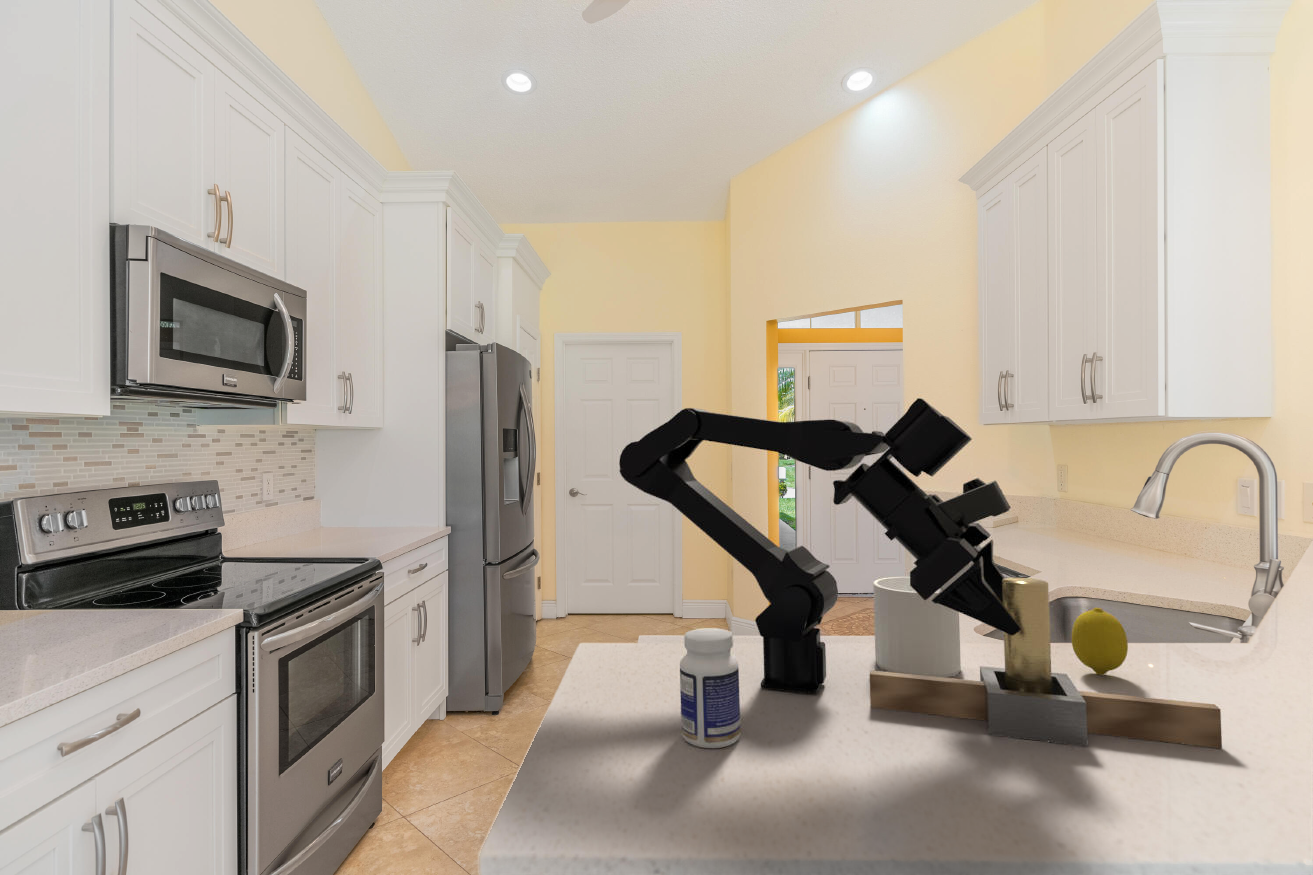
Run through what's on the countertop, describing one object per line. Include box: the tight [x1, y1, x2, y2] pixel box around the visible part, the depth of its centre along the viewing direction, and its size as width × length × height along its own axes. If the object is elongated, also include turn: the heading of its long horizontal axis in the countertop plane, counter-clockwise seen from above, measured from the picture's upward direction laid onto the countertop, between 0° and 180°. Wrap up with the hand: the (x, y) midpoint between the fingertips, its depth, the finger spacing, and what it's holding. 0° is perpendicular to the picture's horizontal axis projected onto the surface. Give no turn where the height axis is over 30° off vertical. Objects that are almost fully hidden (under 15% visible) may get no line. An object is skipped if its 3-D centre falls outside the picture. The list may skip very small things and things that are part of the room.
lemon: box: [1071, 607, 1129, 676], centre depth 77 cm, size 6×6×8 cm
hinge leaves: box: [869, 670, 1223, 749], centre depth 64 cm, size 30×1×4 cm, turn 68°
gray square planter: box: [979, 665, 1089, 748], centre depth 64 cm, size 8×8×4 cm
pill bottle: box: [679, 627, 741, 749], centre depth 63 cm, size 6×6×10 cm
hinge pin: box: [1002, 577, 1052, 695], centre depth 64 cm, size 4×4×14 cm
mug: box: [872, 576, 962, 678], centre depth 83 cm, size 13×10×10 cm
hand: (1019, 620), depth 65 cm, fingers open, 9 cm apart
